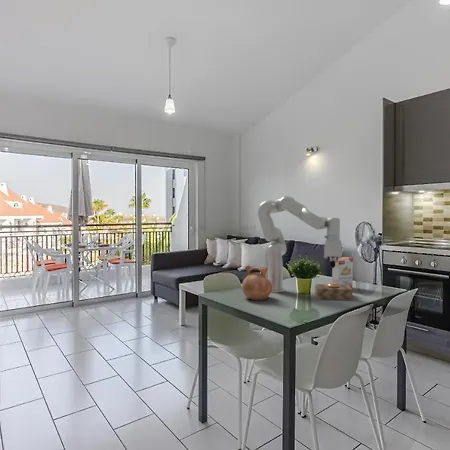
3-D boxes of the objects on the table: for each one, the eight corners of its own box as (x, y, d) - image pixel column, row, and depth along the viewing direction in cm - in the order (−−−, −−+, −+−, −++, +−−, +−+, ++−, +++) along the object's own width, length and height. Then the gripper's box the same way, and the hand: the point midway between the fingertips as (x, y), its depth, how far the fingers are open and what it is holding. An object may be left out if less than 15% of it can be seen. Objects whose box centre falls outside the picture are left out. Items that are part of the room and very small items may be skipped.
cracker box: (338, 290, 233) (338, 259, 233) (331, 288, 239) (331, 258, 238) (353, 288, 240) (353, 257, 240) (346, 286, 246) (346, 256, 245)
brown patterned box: (317, 298, 212) (317, 288, 211) (315, 293, 225) (315, 284, 225) (352, 299, 209) (352, 289, 209) (347, 294, 223) (347, 284, 222)
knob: (328, 296, 214) (328, 285, 214) (326, 294, 221) (326, 283, 221) (339, 297, 213) (339, 285, 213) (337, 294, 220) (337, 283, 220)
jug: (277, 297, 216) (277, 264, 215) (263, 303, 201) (263, 268, 200) (251, 293, 226) (251, 262, 226) (236, 299, 211) (236, 266, 211)
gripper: (321, 238, 213) (320, 268, 214) (347, 238, 211) (346, 269, 212) (319, 237, 221) (319, 266, 221) (344, 237, 218) (344, 267, 219)
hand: (332, 267), depth 217 cm, fingers closed
